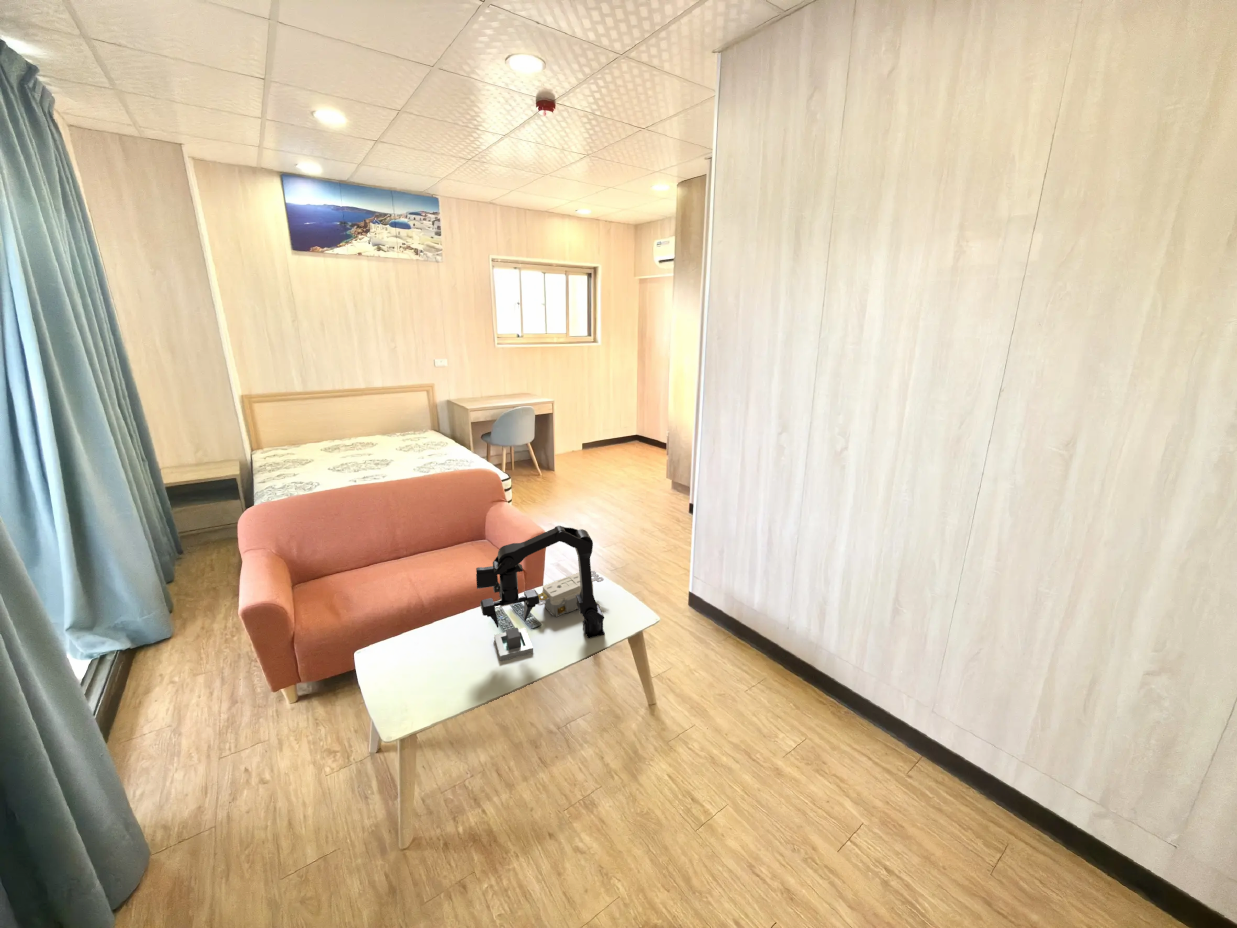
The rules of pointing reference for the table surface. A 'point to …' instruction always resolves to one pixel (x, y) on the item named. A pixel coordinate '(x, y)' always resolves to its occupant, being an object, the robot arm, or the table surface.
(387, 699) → the table surface
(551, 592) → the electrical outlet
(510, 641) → the block
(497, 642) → the socket
